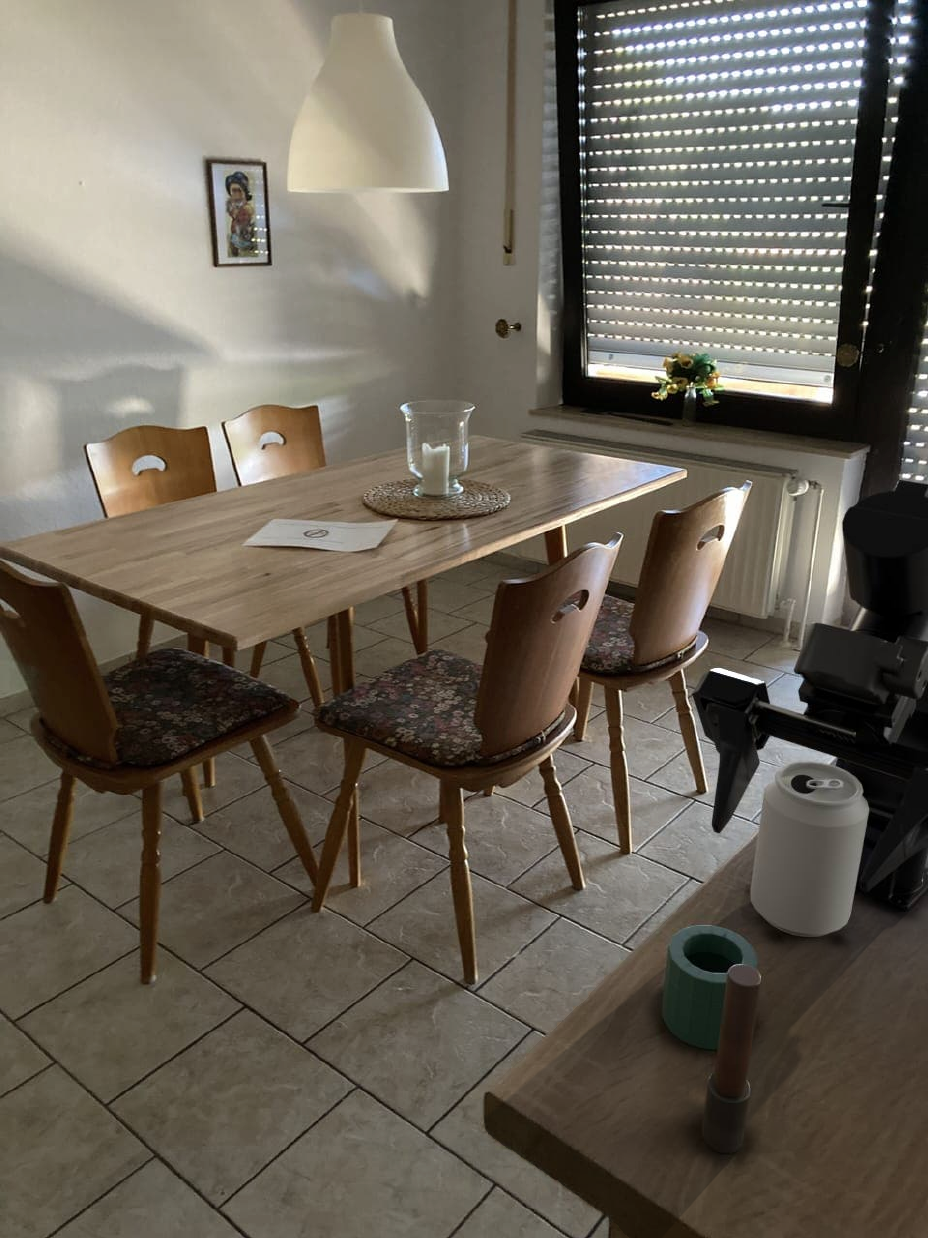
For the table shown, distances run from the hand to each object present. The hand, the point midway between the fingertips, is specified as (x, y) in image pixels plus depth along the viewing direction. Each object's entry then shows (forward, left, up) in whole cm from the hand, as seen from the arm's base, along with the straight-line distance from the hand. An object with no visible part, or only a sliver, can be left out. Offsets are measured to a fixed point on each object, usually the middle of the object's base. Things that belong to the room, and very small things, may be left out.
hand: (785, 857), depth 61 cm
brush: (+7, +2, -15) cm, 17 cm away
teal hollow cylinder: (0, -4, -15) cm, 16 cm away
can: (-15, -5, -15) cm, 22 cm away
